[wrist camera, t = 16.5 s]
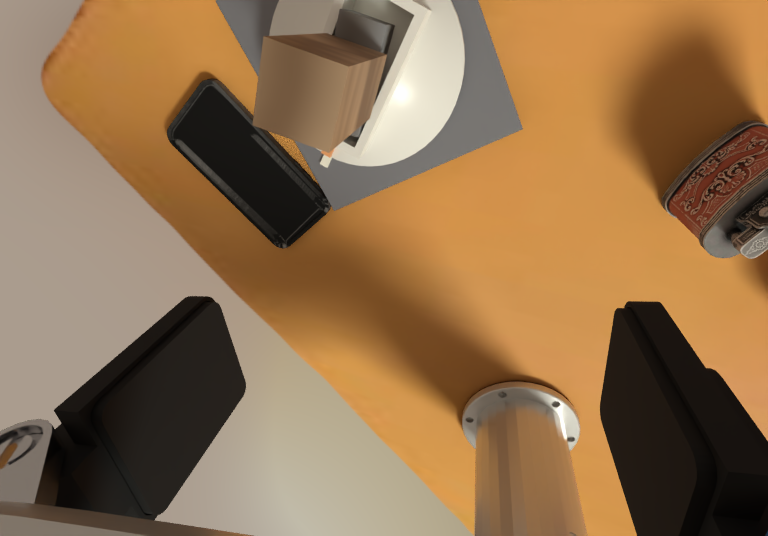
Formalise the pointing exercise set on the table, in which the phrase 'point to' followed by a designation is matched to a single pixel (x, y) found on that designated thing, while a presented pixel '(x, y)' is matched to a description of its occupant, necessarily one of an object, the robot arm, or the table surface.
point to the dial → (394, 71)
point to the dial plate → (458, 136)
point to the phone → (247, 164)
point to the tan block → (322, 81)
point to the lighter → (726, 193)
